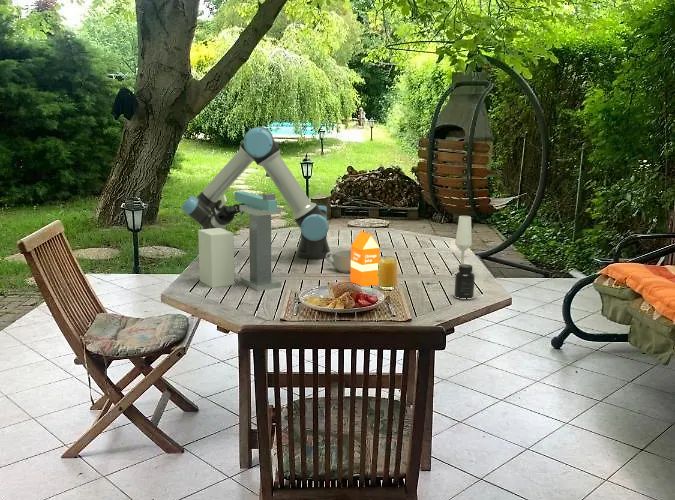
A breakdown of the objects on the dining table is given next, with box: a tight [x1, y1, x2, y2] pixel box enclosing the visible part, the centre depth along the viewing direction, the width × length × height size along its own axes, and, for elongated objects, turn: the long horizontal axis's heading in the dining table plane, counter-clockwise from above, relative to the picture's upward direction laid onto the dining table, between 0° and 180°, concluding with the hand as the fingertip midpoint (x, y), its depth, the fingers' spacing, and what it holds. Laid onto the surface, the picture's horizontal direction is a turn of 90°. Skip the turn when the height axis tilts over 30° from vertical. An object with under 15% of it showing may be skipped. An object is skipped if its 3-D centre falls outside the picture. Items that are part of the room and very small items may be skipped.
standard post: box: [238, 204, 282, 292], centre depth 242 cm, size 14×10×30 cm
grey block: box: [197, 228, 235, 289], centre depth 245 cm, size 12×9×20 cm
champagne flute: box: [454, 215, 473, 273], centre depth 264 cm, size 7×7×24 cm
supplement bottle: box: [453, 263, 476, 299], centre depth 232 cm, size 7×7×12 cm
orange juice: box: [350, 230, 380, 287], centre depth 248 cm, size 8×9×20 cm
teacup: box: [325, 248, 351, 274], centre depth 268 cm, size 14×11×8 cm
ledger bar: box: [234, 190, 278, 211], centre depth 241 cm, size 28×4×6 cm, turn 34°
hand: (241, 196), depth 250 cm, fingers open, 13 cm apart
